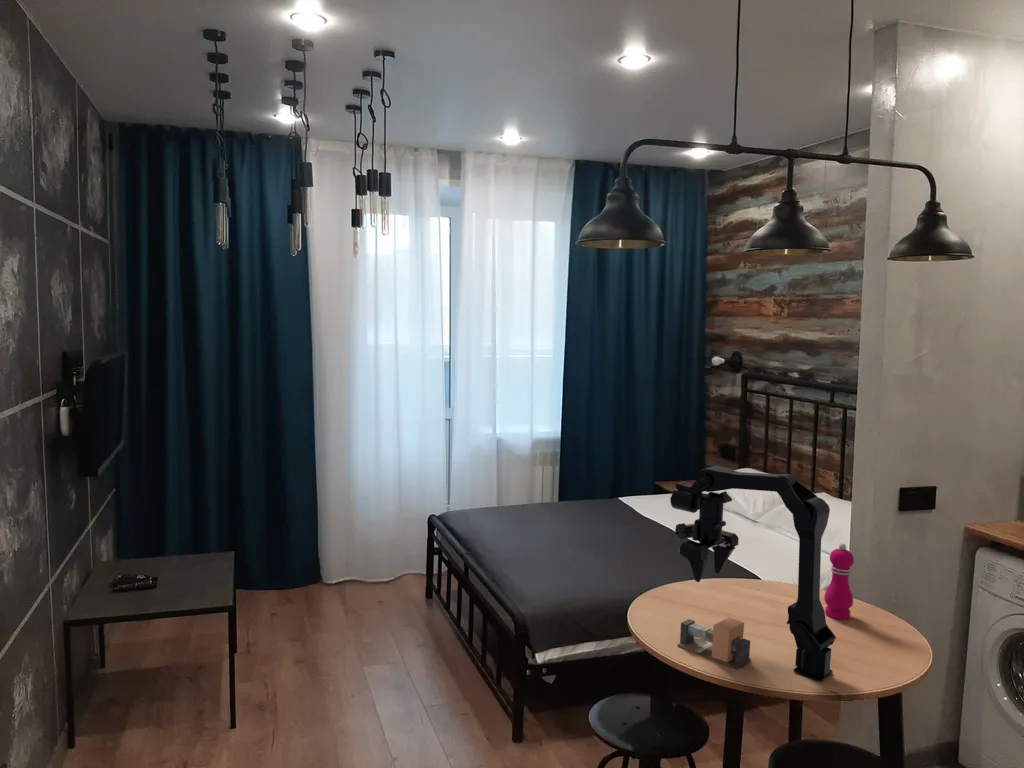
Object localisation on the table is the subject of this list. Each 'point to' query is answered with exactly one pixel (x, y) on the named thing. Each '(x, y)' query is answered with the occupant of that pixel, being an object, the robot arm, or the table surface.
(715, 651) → the collar
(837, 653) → the table surface
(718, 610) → the table surface
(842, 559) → the pepper mill
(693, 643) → the rail
